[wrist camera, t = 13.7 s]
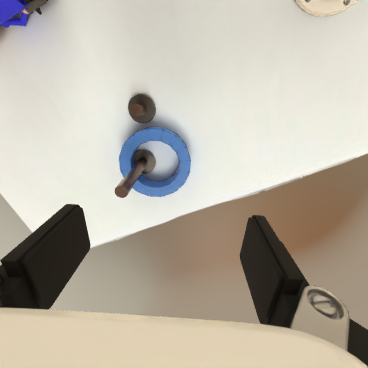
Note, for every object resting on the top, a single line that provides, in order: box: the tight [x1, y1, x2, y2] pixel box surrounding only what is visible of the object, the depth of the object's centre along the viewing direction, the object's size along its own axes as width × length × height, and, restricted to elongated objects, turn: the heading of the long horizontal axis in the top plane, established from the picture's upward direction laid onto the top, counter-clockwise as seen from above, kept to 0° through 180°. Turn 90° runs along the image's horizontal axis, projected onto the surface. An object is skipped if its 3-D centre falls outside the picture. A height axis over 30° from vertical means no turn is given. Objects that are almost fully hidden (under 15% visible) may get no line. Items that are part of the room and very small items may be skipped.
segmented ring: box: [119, 127, 191, 197], centre depth 36 cm, size 13×13×3 cm
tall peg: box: [115, 150, 155, 198], centre depth 32 cm, size 5×5×14 cm
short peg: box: [128, 94, 156, 123], centre depth 32 cm, size 5×5×5 cm
